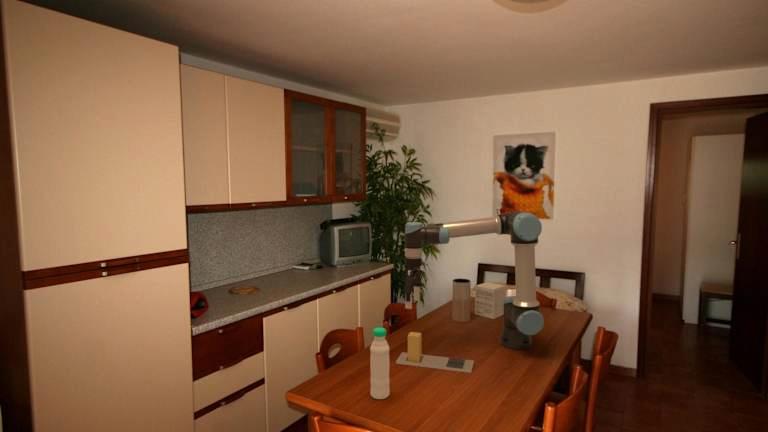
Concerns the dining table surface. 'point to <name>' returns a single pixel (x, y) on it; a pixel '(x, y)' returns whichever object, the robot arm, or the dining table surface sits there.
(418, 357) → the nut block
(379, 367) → the water bottle
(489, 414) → the dining table surface
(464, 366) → the white flat board
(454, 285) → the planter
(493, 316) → the supplement box
